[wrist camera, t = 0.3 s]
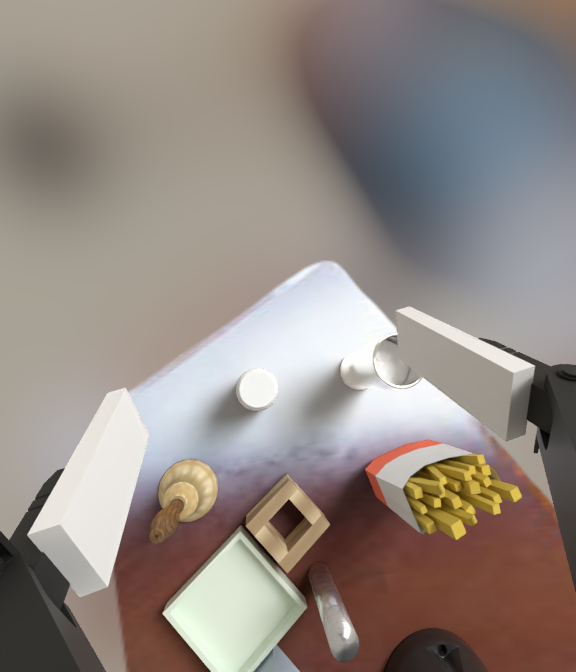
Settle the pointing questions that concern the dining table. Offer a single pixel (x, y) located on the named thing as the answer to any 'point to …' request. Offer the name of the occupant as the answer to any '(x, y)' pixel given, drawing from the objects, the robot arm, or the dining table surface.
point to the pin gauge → (333, 614)
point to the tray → (235, 606)
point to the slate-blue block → (276, 662)
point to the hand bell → (183, 497)
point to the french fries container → (437, 486)
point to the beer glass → (378, 367)
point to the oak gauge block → (300, 537)
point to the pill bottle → (257, 389)
